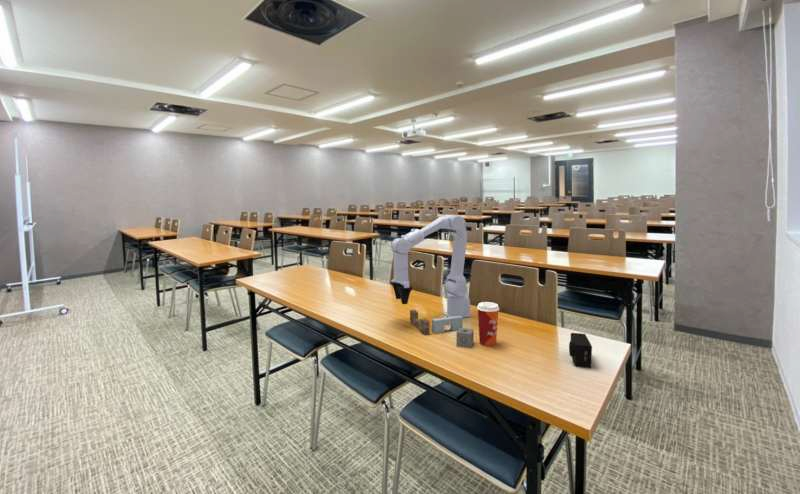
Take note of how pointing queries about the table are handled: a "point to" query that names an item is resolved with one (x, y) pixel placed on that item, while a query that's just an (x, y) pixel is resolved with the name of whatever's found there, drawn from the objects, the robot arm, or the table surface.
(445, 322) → the pale blue-gray block
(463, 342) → the gray cube with hole
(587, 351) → the digital camera
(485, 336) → the paper cup
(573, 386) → the table surface
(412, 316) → the walnut u-shaped block
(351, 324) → the table surface
